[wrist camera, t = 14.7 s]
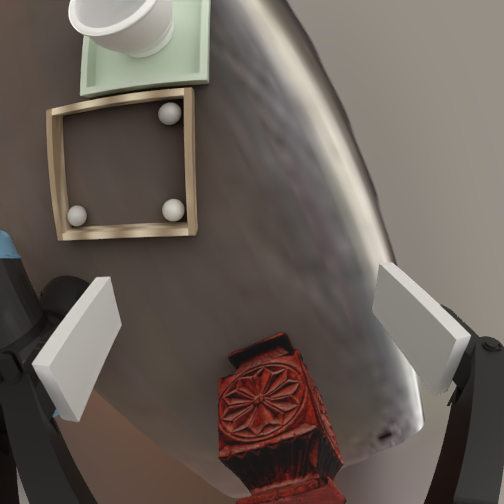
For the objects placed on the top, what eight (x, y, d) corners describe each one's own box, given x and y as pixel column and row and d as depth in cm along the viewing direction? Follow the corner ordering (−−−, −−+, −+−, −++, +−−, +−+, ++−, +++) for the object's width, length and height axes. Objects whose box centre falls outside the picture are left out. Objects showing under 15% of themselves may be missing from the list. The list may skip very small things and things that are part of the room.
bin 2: (67, 233, 44) (58, 240, 41) (57, 111, 37) (46, 110, 34) (198, 228, 46) (195, 235, 42) (194, 91, 38) (191, 87, 35)
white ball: (74, 223, 44) (65, 229, 41) (71, 204, 42) (62, 209, 39) (91, 222, 44) (82, 228, 41) (88, 202, 43) (79, 207, 40)
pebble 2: (165, 218, 45) (161, 224, 42) (164, 197, 43) (159, 201, 40) (186, 217, 45) (183, 223, 42) (185, 196, 44) (182, 200, 41)
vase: (250, 395, 59) (264, 528, 31) (217, 350, 54) (216, 504, 26) (313, 370, 57) (357, 503, 29) (289, 321, 52) (336, 473, 25)
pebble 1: (161, 126, 40) (156, 125, 37) (160, 104, 39) (155, 102, 36) (183, 124, 40) (179, 123, 37) (183, 102, 39) (179, 100, 36)
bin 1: (90, 97, 37) (80, 95, 34) (98, -3, 31) (90, -10, 27) (208, 83, 38) (207, 79, 35) (211, -20, 32) (210, -30, 28)
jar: (159, -8, 31) (134, -57, 17) (195, 35, 35) (181, -9, 21) (100, 33, 33) (54, 1, 19) (133, 78, 36) (91, 55, 22)
